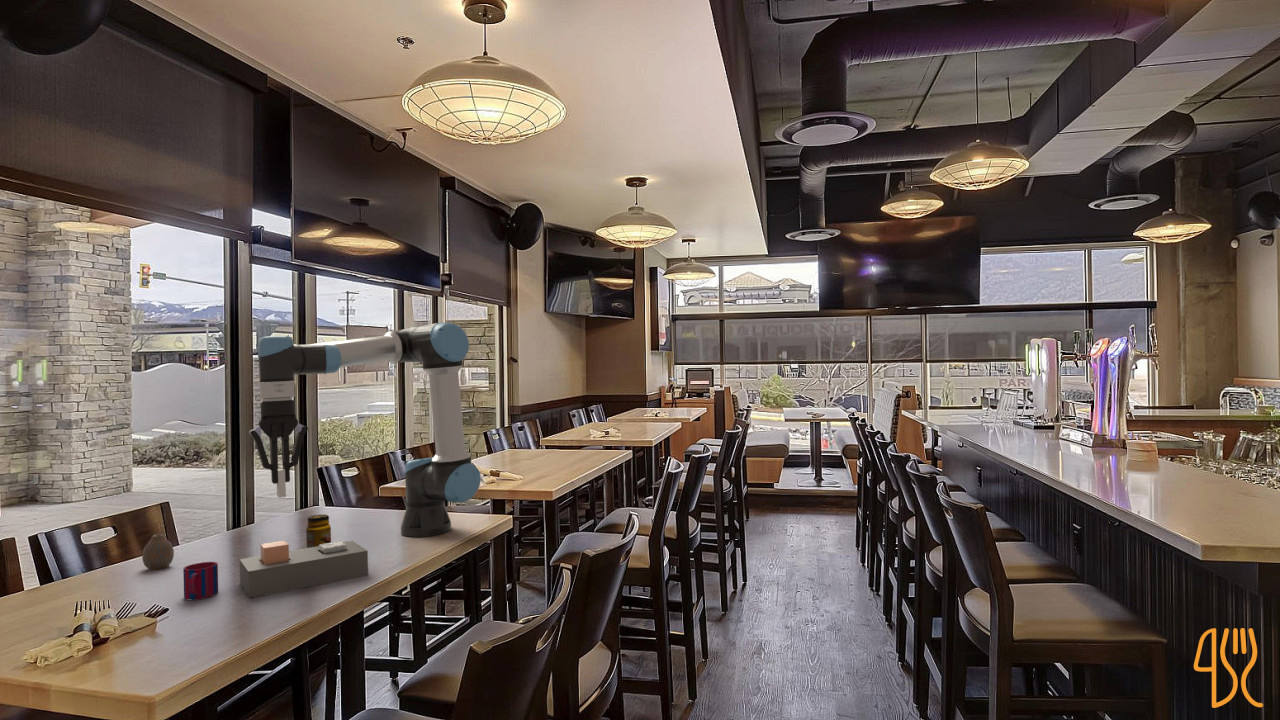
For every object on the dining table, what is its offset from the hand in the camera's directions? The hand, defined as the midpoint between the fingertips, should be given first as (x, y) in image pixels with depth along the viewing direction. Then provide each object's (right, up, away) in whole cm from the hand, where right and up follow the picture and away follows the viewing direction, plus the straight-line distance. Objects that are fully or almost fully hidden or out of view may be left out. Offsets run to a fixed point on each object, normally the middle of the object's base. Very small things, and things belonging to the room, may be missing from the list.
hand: (281, 496), depth 170 cm
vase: (-41, -23, +16) cm, 49 cm away
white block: (+10, -19, +5) cm, 22 cm away
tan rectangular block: (0, -17, -3) cm, 17 cm away
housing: (+5, -21, +1) cm, 21 cm away
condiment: (0, -21, +18) cm, 28 cm away
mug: (-13, -21, -11) cm, 27 cm away
